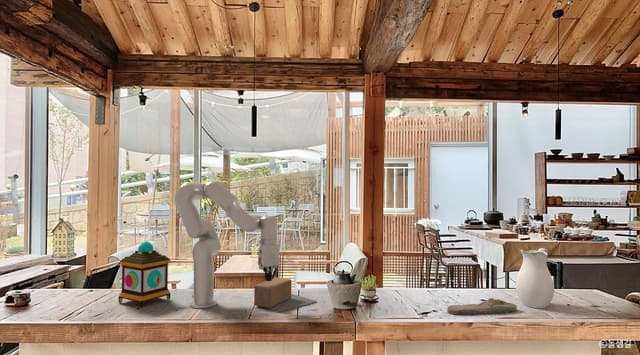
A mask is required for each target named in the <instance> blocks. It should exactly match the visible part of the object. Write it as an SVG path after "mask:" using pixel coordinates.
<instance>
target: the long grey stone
mask: <svg viewBox="0 0 640 355" xmlns="http://www.w3.org/2000/svg"><path fill="white" fill-rule="evenodd" d="M517 309H518V305H516V304H514V303H512V302H506V301H505V300H502V299H501V300H500V299H495V298H493V297H490V298H488V299H487V300H486V301H482V302H480V303H471V304H468V303H467V304H457V305H449V306H448V307H447V314H449V315H452V316H454V315H455V316H458V315H466V316H467V315H468V314H469V315H488V314H501V313H502V314H505V312H509V313H511V312H515V311H517Z"/></svg>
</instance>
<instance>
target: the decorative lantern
mask: <svg viewBox="0 0 640 355" xmlns="http://www.w3.org/2000/svg"><path fill="white" fill-rule="evenodd" d="M170 261H171V258H169V257H168V256H166V255H164V254H161V253H159V252H157V250H156V249H155V250H154V246H153V244H152V243H151V242H149V241H147V240H145V241H143V242H141V243H140V244H139V246H138V248H137V250H135V251H134V252H133V253H132V254H130V255H128V256H125V257H124V258H121V260H120V261H119V263H120V265H121V271H122V272H121V291H120V293H119V295H118V299H117V301H118V304H122V303H123V301H124V300H128V301H133V302H137V303H138V305H139V308H140V309H142V308H143V307H144V303H145V302H148V301H151V300H155V299H156V300H157V299H159V298H162V297H165V298H166V300H167V301H170V299H171V292H170V290H169V289H168V288H169V287H168V284H169V283H168V282H169V280H168V277H169V276H168V275H169V264H170ZM123 299H124V300H123Z"/></svg>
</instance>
